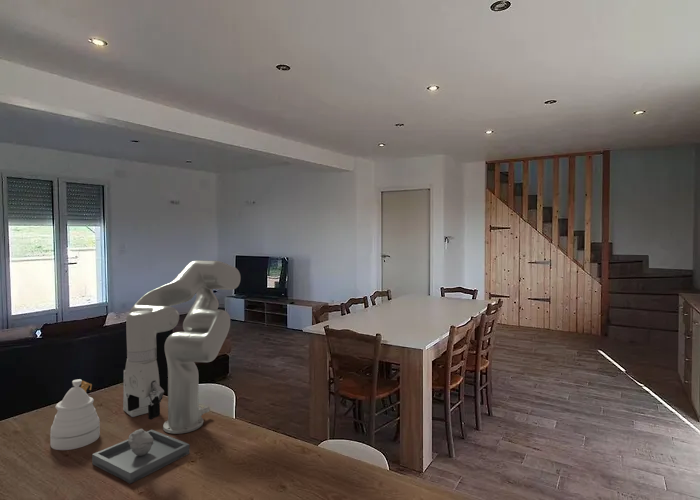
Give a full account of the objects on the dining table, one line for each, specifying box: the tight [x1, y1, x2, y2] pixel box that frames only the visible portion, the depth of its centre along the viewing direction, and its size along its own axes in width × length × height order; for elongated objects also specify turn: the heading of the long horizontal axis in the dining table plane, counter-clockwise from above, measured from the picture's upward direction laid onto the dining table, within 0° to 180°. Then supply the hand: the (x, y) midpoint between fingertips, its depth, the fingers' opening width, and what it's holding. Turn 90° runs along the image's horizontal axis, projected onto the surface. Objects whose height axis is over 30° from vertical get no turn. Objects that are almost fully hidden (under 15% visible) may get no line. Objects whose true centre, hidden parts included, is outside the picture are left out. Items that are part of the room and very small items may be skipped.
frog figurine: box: [127, 428, 153, 456], centre depth 120 cm, size 6×7×7 cm
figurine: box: [80, 380, 93, 393], centre depth 150 cm, size 8×6×12 cm
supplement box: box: [122, 369, 155, 418], centre depth 154 cm, size 9×9×15 cm
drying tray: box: [91, 429, 190, 485], centre depth 120 cm, size 18×18×3 cm
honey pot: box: [49, 378, 101, 451], centre depth 131 cm, size 13×13×18 cm
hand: (143, 413), depth 121 cm, fingers open, 9 cm apart
